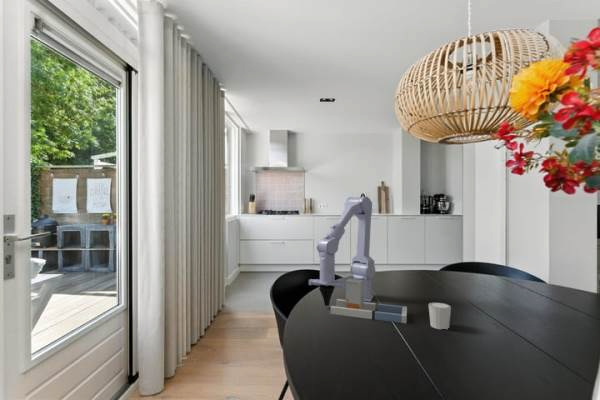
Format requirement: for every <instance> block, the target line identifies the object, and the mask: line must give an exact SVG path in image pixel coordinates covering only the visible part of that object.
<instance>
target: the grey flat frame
mask: <svg viewBox="0 0 600 400" xmlns="http://www.w3.org/2000/svg"><path fill="white" fill-rule="evenodd" d="M335 301H336V302H335V303H336V305H335V306H334V305H331V306H330V307H329V308H330V309H329V311H330V315H334V316H344V317H350V318H351V317H352V318H360V319H368V320H373V312H374V320H375V321H383V322H391V323H398V324H399V323H400V324H407V318H408V317H407V316H408V308H407V306H404V305H394V304H386V303H385V304H384V303H377V310H376V303H375V302H370V301H364V310H362V309H353V308H346V299H341V298H337V299H336V300H335Z"/></svg>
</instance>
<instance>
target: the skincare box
mask: <svg viewBox="0 0 600 400" xmlns="http://www.w3.org/2000/svg"><path fill="white" fill-rule="evenodd" d="M345 282H346V288H345V300H346V308H353V309H362V310H364V302H365V301H364V280H359V279H354V278H347V279H346V280H345Z"/></svg>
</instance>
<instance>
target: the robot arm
mask: <svg viewBox="0 0 600 400" xmlns="http://www.w3.org/2000/svg"><path fill="white" fill-rule="evenodd" d="M372 211H373V202H372V200H371V198H369V197H368V196H355V197H354V196H353V197H352V196H351V197H347V199H346V201H345V202H344V209H343V210H342V212H341V215H340V216H339V218H338V220H337V222H336V223H333V224H331V226H330V228H329V230H328V231H327V232H326V234H325V235H324V237H323V238H320V240H318V243H317V245H316V250H317V252H318V257H319V278H316V279H314V278H313V279H312V278H310V279H308V285H309V286H312V285H313V286H319V287H318V288H319V292H320V293H321V296H322V300H323V302H324V307H325V306H326V307H329V306H330V302H331V300H332V299H331V298H332V295H333V293H334V291H335V288H340V289H346V281H341V280H335V275H336V273H335V272H336V271H335V270H336V269H335V268H336V267H335V262H336V261H335V258H336V253H337V252H338V250H339V244H340V240H341V239H342V237H343V236H344V235H345V232H346V229H345V227H346V226H347V224H348V223H349V221H350V220H351V219H352V217H353V216H354V217H355V216H356V218H357V219H358V225H357V226H358V227H357V239H356V240H357V244H356V255H355V256H353V257H352V258H351V264H350V266H349V271H350V274H351V276H352V278H353V279H359V280H364V302H372V299H373V297H374V294H372V279H373V278H374V277H375V275H376V267H375V260H374V259H373V258H372V256H370V246H371V244H370V243H371V227H372V225H371V224H372V215H373V214H372V213H373V212H372Z"/></svg>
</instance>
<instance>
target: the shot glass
mask: <svg viewBox="0 0 600 400" xmlns="http://www.w3.org/2000/svg"><path fill="white" fill-rule="evenodd" d="M451 311H452V306H451V305H449V304H447V303H443V302H437V301H436V302H429V303H428V312H429V322H430V323H429V324H430V327H431V328H433V329H437V330H441V329H446V330H449V329H450V321H451ZM448 328H449V329H448Z"/></svg>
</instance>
